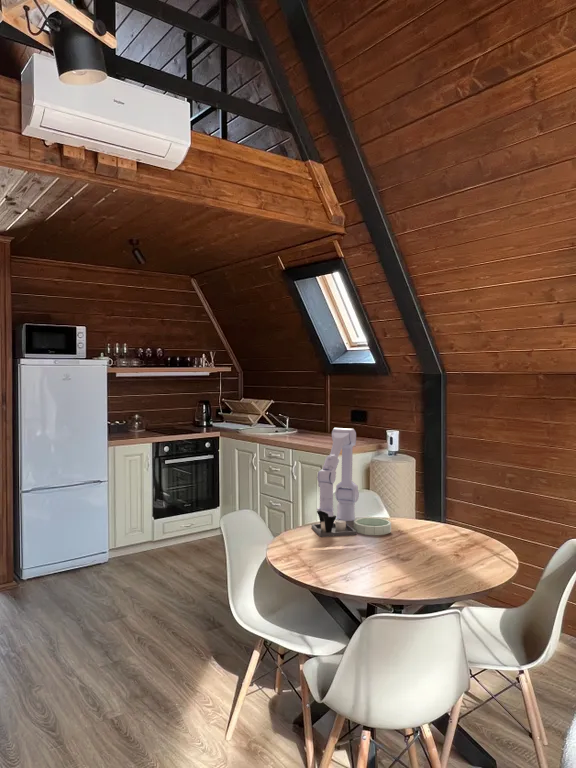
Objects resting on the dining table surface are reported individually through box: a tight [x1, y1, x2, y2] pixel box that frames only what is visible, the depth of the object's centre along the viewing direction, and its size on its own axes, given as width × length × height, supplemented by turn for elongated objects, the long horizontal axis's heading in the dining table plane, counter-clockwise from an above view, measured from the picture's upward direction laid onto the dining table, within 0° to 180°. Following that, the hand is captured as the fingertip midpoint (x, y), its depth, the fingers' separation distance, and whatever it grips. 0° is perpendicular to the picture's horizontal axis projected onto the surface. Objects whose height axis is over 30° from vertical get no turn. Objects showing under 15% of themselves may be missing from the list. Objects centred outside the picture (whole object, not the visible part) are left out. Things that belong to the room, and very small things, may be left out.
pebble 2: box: [334, 519, 347, 532], centre depth 247 cm, size 4×4×4 cm
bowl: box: [353, 516, 392, 536], centre depth 249 cm, size 16×16×4 cm
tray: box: [311, 522, 357, 538], centre depth 247 cm, size 15×16×2 cm
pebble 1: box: [321, 521, 332, 533], centre depth 246 cm, size 4×4×4 cm
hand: (326, 529), depth 246 cm, fingers open, 7 cm apart
